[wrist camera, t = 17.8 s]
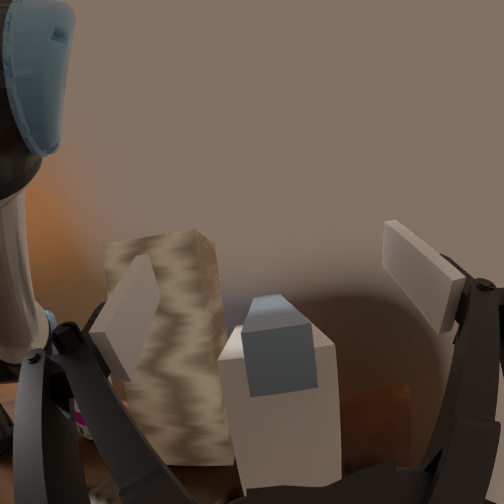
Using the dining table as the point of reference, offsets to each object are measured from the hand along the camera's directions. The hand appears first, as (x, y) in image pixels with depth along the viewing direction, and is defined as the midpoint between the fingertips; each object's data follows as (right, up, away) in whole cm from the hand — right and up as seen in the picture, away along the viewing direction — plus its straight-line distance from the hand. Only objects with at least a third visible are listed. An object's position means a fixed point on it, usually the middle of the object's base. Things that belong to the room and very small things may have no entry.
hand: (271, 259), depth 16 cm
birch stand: (-9, -28, +22) cm, 37 cm away
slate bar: (+1, -7, +8) cm, 10 cm away
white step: (+3, -25, +9) cm, 27 cm away
